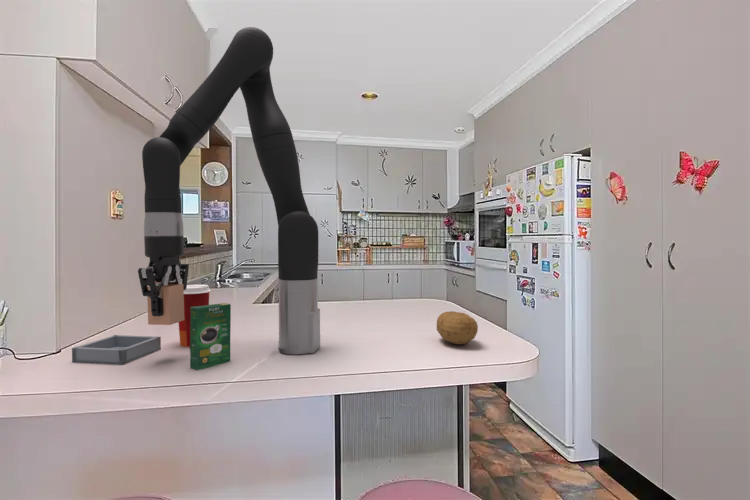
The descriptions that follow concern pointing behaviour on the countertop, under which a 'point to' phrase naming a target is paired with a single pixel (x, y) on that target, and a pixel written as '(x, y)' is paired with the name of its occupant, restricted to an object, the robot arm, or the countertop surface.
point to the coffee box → (210, 335)
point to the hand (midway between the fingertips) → (166, 313)
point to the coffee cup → (192, 298)
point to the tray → (116, 349)
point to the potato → (456, 327)
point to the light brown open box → (169, 306)
